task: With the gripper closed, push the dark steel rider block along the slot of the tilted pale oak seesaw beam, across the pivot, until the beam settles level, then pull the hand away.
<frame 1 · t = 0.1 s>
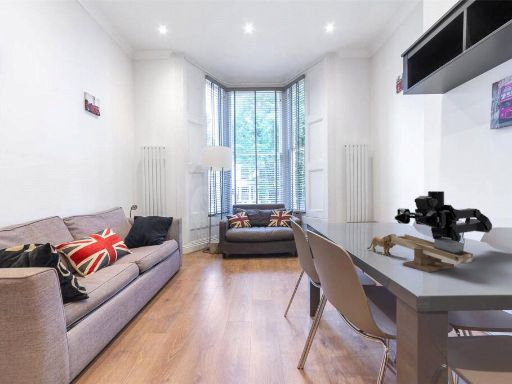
hand: (405, 218, 111), 17 cm above the table, tool horizontal, fingers open, 9 cm apart
stand: (428, 266, 106), on the table
lion figurine: (383, 253, 128), on the table
beam: (428, 247, 106), point 7 cm above the table, hinge at -6.5°, touching rider
rider: (447, 254, 100), point 6 cm above the table, tilted 7°, touching beam
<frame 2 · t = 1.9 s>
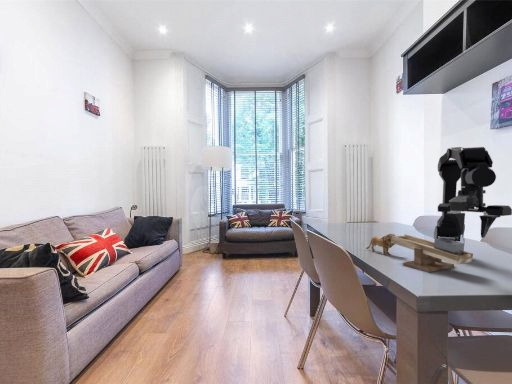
hand: (471, 236, 93), 13 cm above the table, tool pointing down, fingers open, 6 cm apart
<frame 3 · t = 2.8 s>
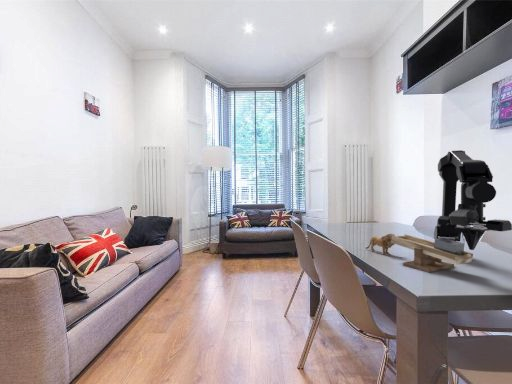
hand: (471, 249, 93), 9 cm above the table, tool pointing down, fingers closed
nothing on the table moved.
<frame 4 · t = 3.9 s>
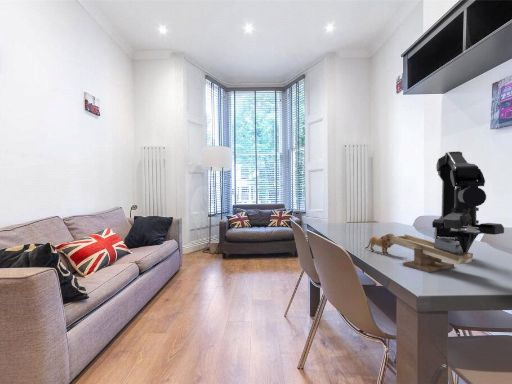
hand: (465, 252, 95), 7 cm above the table, tool pointing down, fingers closed
rider: (447, 254, 100), point 6 cm above the table, tilted 7°, touching beam, gripper
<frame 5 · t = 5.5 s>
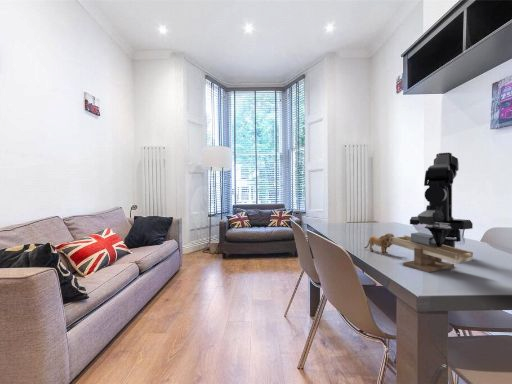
hand: (439, 247, 102), 8 cm above the table, tool pointing down, fingers closed
beam: (428, 247, 106), point 7 cm above the table, hinge at -4.6°, touching rider
rider: (423, 246, 107), point 7 cm above the table, touching beam, gripper
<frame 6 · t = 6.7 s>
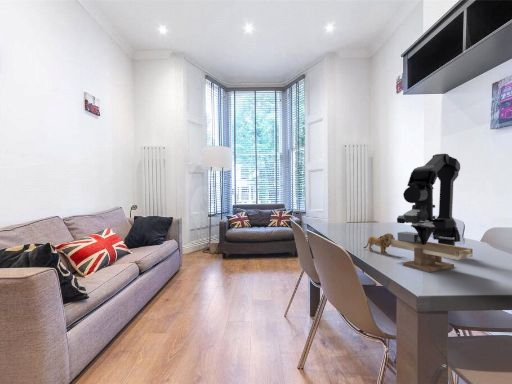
hand: (424, 244, 107), 8 cm above the table, tool pointing down, fingers closed
beam: (428, 247, 106), point 7 cm above the table, hinge at 0.6°, touching rider
rider: (409, 244, 112), point 7 cm above the table, touching beam, gripper
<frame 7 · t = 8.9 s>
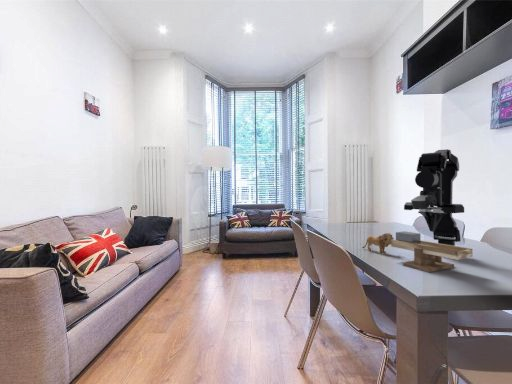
hand: (432, 231, 104), 13 cm above the table, tool pointing down, fingers closed
rider: (407, 244, 113), point 7 cm above the table, touching beam
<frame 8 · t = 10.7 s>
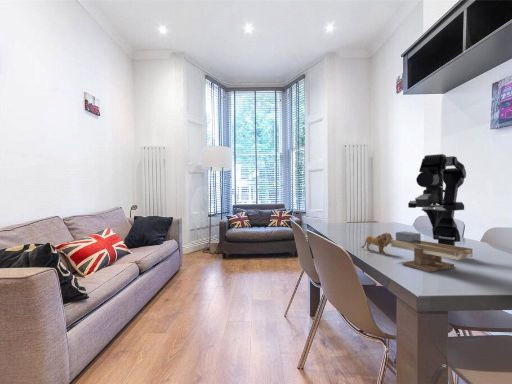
hand: (434, 227, 113), 13 cm above the table, tool pointing down, fingers closed
at the end: beam at +1° (first picture: -7°); rider inside the target area on the beam (1.4 cm from its centre), point 0.5 cm above the beam's base; rider tilted 1° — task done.
